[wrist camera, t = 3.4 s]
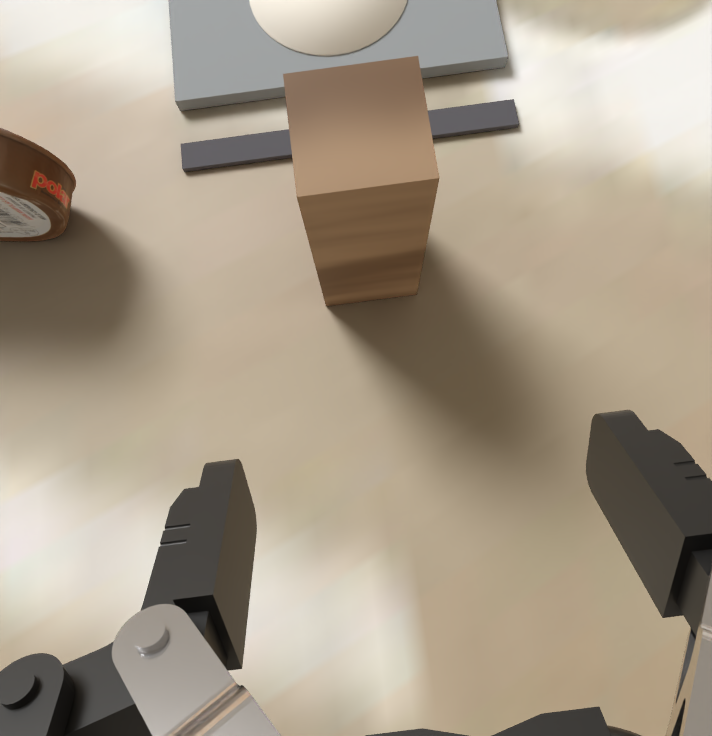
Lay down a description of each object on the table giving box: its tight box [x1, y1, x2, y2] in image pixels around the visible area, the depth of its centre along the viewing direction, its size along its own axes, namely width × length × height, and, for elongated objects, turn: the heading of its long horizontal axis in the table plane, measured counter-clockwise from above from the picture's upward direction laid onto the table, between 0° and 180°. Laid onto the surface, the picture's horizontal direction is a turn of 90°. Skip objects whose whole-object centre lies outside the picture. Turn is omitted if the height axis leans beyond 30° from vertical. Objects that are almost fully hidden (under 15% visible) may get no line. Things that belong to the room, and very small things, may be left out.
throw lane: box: [169, 0, 519, 172], centre depth 33 cm, size 16×18×1 cm
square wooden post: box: [283, 56, 439, 306], centre depth 25 cm, size 5×5×11 cm
